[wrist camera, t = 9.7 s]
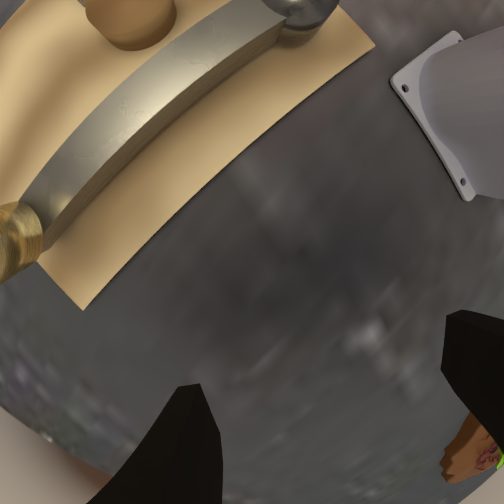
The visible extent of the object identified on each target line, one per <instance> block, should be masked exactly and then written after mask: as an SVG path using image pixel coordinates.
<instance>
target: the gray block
mask: <svg viewBox="0 0 504 504" xmlns="http://www.w3.org/2000/svg"><path fill="white" fill-rule="evenodd" d="M77 1H78V2H79V3H80V4H81V5H82V6H83V7H84V8H85V6H86V1H87V0H77Z"/></svg>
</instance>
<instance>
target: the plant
mask: <svg viewBox="0 0 504 504" xmlns="http://www.w3.org/2000/svg"><path fill="white" fill-rule="evenodd" d="M444 450H445V452H446V454H445V456H444V457H443V458H442V460H441V461H440V464H441V466H442V468H443V469H444V471H443V472H442V475H443V477H444V479H445V480H446V482H447V483H458V482H461V481H463V480H465V479H467V478H469V477H471V476H473V475H476V474H478V473H481V472H483V471H485V470H487V469H489V468H491V467H492V466H494V465H495V464H496V463H497V462H498V463H497V464H498V465H497V470H498V468H500V467H501V465H502V464H503V462H504V455H503V453H502V451H501V449H500V448H499V446H498V445H497V444H496V442H495V441H494V439H493V438H492V437H491V436H490V434H489V433H488V432H487V431H486V429H485V428H484V427H483V426H482V425H481V423H480V422H479V421H478V420H477V419H476V417H475V416H474V415H473V414H472V413H471V412H470V413H469V414H468V416H467V417H466V419H465V421H464V423H463V425H462V427H461V429H460V431H459V432H458V434H457V436H456V437H455V439H454V440H453V441H452V442H451V443H450V444H449V445H448V446H447V447H446V448H445V449H444Z"/></svg>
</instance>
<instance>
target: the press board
mask: <svg viewBox="0 0 504 504" xmlns="http://www.w3.org/2000/svg"><path fill="white" fill-rule="evenodd" d="M230 1H231V0H174V3H175V6H176V11H177V17H176V21H175V24H174V26H173V28H172V29H171V31H170V32H169V33H168V35H167V36H166V37H165V38H164V39H162V40H161V41H160V42H158V43H157V44H155V45H153V46H151V47H149V48H146V49H143V50H139V51H124V50H121V49H118V48H116V47H114V46H113V45H112V44H111V43H110V42H109V41H108V40H107V39H106V38H105V37H104V36H103V35H102V34H101V33H100V32H99V31H98V30H97V29H96V28H95V27H94V26H93V25H92V24H91V23H90V22H89V21H88V19H87V16H86V12H85V8H84V7H83V6H82V5H81V4H80V3H79V2H78V1H77V0H26V1H25V2H24V3H23V4H22V5H21V6H20V8H19V9H18V10H17V11H16V12H15V13H14V14H13V15H12V16H11V18H10V19H9V20H8V21H7V22H6V23H5V25H4V26H3V27H2V28H1V29H0V205H2V204H6V203H10V202H15V201H19V199H20V198H21V196H22V195H23V193H24V192H25V191H26V189H27V188H28V187H29V185H30V184H31V182H32V181H33V180H34V178H35V177H36V176H37V175H38V173H39V172H40V171H41V169H42V168H43V167H44V166H45V164H46V163H47V162H48V161H49V159H50V158H51V157H52V156H53V154H54V153H55V152H56V151H57V150H58V148H59V147H60V146H61V145H62V144H63V143H64V141H65V140H66V139H67V138H68V137H69V136H70V135H71V134H72V132H73V131H74V130H75V129H76V128H77V127H78V126H79V125H80V124H81V123H82V122H83V120H84V119H85V118H86V117H87V116H88V115H89V114H90V113H91V112H92V111H93V110H94V109H95V108H96V107H97V106H98V105H99V104H100V103H101V102H102V101H103V100H104V99H105V98H106V97H107V96H108V95H109V94H110V93H111V92H112V91H113V90H114V89H116V88H117V87H118V86H119V85H120V84H121V83H122V82H123V81H124V80H125V79H126V78H128V77H129V76H130V75H131V74H132V73H133V72H134V71H135V70H137V69H138V68H139V67H140V66H141V65H142V64H144V63H145V62H146V61H147V60H148V59H150V58H151V57H152V56H153V55H155V54H156V53H157V52H158V51H160V50H161V49H162V48H163V47H165V46H166V45H167V44H169V43H170V42H171V41H172V40H174V39H175V38H176V37H178V36H179V35H181V34H182V33H183V32H185V31H186V30H187V29H189V28H190V27H192V26H193V25H194V24H196V23H197V22H199V21H200V20H202V19H203V18H205V17H206V16H208V15H209V14H211V13H212V12H214V11H215V10H217V9H219V8H220V7H222V6H223V5H225V4H227V3H228V2H230ZM375 46H376V45H375V44H374V43H373V42H372V41H371V40H370V38H369V37H368V36H367V35H366V34H365V33H364V32H363V31H362V30H361V28H360V27H359V26H358V25H357V24H356V23H355V22H354V21H353V20H352V19H351V18H350V17H349V16H348V15H347V14H346V13H345V12H344V11H343V10H342V9H341V8H340V7H339V6H338V5H337V7H336V9H335V10H334V11H333V12H332V14H331V15H330V16H329V18H328V19H327V20H326V22H325V23H324V24H323V26H322V27H321V28H320V29H319V31H318V32H317V33H316V35H315V36H314V37H313V38H311V39H310V40H308V41H306V42H303V43H300V44H294V45H287V44H280V43H275V44H273V45H272V46H270V47H269V48H267V49H266V50H264V51H263V52H261V53H260V54H258V55H257V56H255V57H254V58H253V59H251V60H250V61H248V62H247V63H245V64H244V65H243V66H241V67H240V68H238V69H237V70H236V71H234V72H233V73H232V74H230V75H229V76H228V77H226V78H225V79H224V80H222V81H221V82H220V83H218V84H217V85H216V86H214V87H213V88H212V89H211V90H209V91H208V92H207V93H205V94H204V95H203V96H202V97H200V98H199V99H198V100H197V101H195V102H194V103H193V104H192V105H191V106H189V107H188V108H187V109H186V110H185V111H183V112H182V113H181V114H180V115H179V116H178V117H176V118H175V119H174V120H173V121H172V122H171V123H169V124H168V125H167V126H166V127H165V128H164V129H163V130H162V131H160V132H159V133H158V134H157V135H156V136H155V137H154V138H153V139H152V140H151V141H149V142H148V143H147V144H146V145H145V146H144V147H143V148H142V149H141V150H140V151H139V152H138V153H137V154H136V155H135V156H134V157H133V158H132V159H130V160H129V161H128V162H127V163H126V164H125V165H124V166H123V167H122V168H121V169H120V170H119V171H118V172H117V173H116V174H115V175H114V177H113V178H112V179H111V180H110V181H109V182H108V183H107V184H106V185H105V186H104V187H103V188H102V189H101V190H100V191H99V192H98V193H97V194H96V195H95V197H94V198H93V199H92V200H91V201H90V202H89V203H88V204H87V205H86V207H85V208H84V209H83V210H82V211H81V212H80V213H79V214H78V216H77V217H76V218H75V219H74V220H73V221H72V223H71V224H70V225H69V226H68V227H67V228H66V230H65V231H64V232H63V233H62V234H61V236H60V237H59V238H58V239H57V241H56V242H55V243H54V244H53V246H52V247H51V248H50V249H49V250H47V251H45V252H43V253H41V254H40V256H39V258H38V259H37V262H38V263H39V264H40V265H41V266H42V268H43V269H44V270H45V271H46V272H47V273H48V274H49V275H50V277H51V278H52V279H53V280H54V281H55V282H56V283H57V284H58V285H59V286H60V287H61V289H62V290H63V291H64V292H65V293H66V294H67V295H68V296H69V297H70V298H71V299H72V300H73V301H74V302H75V303H76V304H77V305H78V306H79V307H80V308H81V309H82V310H84V309H85V308H86V306H87V305H88V304H89V303H90V302H91V301H92V300H93V299H94V297H95V296H96V295H97V294H98V293H99V292H100V291H101V290H102V289H103V287H104V286H105V285H106V284H107V283H108V282H109V281H110V280H111V279H112V278H113V276H114V275H115V274H116V273H117V272H118V271H119V270H120V269H121V268H122V267H123V266H124V265H125V264H126V263H127V262H128V260H129V259H130V258H131V257H132V256H133V255H134V254H135V253H136V252H137V251H138V250H139V249H140V248H141V247H142V246H143V245H144V244H145V243H146V242H147V241H148V240H149V239H150V238H151V237H152V236H153V235H154V234H155V233H156V232H157V231H158V230H159V229H160V228H161V227H162V226H163V225H164V224H165V223H166V222H167V221H168V220H169V219H170V218H171V217H172V216H173V215H174V214H175V213H176V212H177V211H178V210H179V209H180V208H181V207H182V206H183V205H184V204H185V203H186V202H187V201H188V200H189V199H190V198H191V197H192V196H194V195H195V194H196V193H197V192H198V191H199V190H200V189H201V188H202V187H203V186H204V185H205V184H206V183H207V182H208V181H210V180H211V179H212V178H213V177H214V176H215V175H216V174H217V173H218V172H219V171H220V170H222V169H223V168H224V167H225V166H226V165H227V164H228V163H229V162H230V161H232V160H233V159H234V158H235V157H236V156H237V155H238V154H239V153H241V152H242V151H243V150H244V149H245V148H246V147H247V146H249V145H250V144H251V143H252V142H253V141H254V140H256V139H257V138H258V137H259V136H260V135H261V134H263V133H264V132H265V131H266V130H267V129H268V128H270V127H271V126H272V125H273V124H274V123H276V122H277V121H278V120H279V119H280V118H282V117H283V116H284V115H285V114H286V113H288V112H289V111H290V110H291V109H293V108H294V107H295V106H296V105H298V104H299V103H300V102H301V101H303V100H304V99H305V98H306V97H308V96H309V95H310V94H311V93H313V92H314V91H315V90H316V89H318V88H319V87H320V86H322V85H323V84H324V83H326V82H327V81H328V80H329V79H331V78H332V77H333V76H335V75H336V74H337V73H339V72H340V71H341V70H343V69H344V68H345V67H347V66H348V65H350V64H351V63H352V62H354V61H355V60H356V59H358V58H359V57H361V56H362V55H363V54H365V53H366V52H368V51H369V50H370V49H372V48H373V47H375Z"/></svg>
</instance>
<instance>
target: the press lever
mask: <svg viewBox="0 0 504 504" xmlns="http://www.w3.org/2000/svg"><path fill="white" fill-rule="evenodd" d="M338 3H339V0H231V1H230V2H228V3H227V4H225V5H223V6H222V7H220V8H219V9H217V10H215V11H214V12H212V13H211V14H209V15H208V16H206V17H205V18H203V19H202V20H200V21H199V22H197V23H196V24H194V25H193V26H192V27H190V28H189V29H187V30H186V31H185V32H183V33H182V34H181V35H179V36H178V37H176V38H175V39H174V40H172V41H171V42H170V43H169V44H167V45H166V46H165V47H163V48H162V49H161V50H160V51H158V52H157V53H156V54H155V55H153V56H152V57H151V58H150V59H148V60H147V61H146V62H145V63H144V64H142V65H141V66H140V67H139V68H138V69H137V70H135V71H134V72H133V73H132V74H131V75H130V76H129V77H128V78H126V79H125V80H124V81H123V82H122V83H121V84H120V85H119V86H118V87H117V88H116V89H114V90H113V91H112V92H111V93H110V94H109V95H108V96H107V97H106V98H105V99H104V100H103V101H102V102H101V103H100V104H99V105H98V106H97V107H96V108H95V109H94V110H93V111H92V112H91V113H90V114H89V115H88V116H87V117H86V118H85V119H84V120H83V122H82V123H81V124H80V125H79V126H78V127H77V128H76V129H75V130H74V131H73V132H72V134H71V135H70V136H69V137H68V138H67V139H66V140H65V141H64V143H63V144H62V145H61V146H60V147H59V148H58V150H57V151H56V152H55V153H54V154H53V156H52V157H51V158H50V159H49V161H48V162H47V163H46V164H45V166H44V167H43V168H42V169H41V171H40V172H39V173H38V175H37V176H36V177H35V178H34V180H33V181H32V182H31V184H30V185H29V187H28V188H27V189H26V191H25V192H24V193H23V195H22V196H21V198H20V199H19V201H15V202H10V203H6V204H2V205H0V284H2V283H3V282H5V281H7V280H8V279H10V278H11V277H13V276H14V275H16V274H18V273H19V272H21V271H22V270H24V269H26V268H27V267H29V266H31V265H32V264H34V263H35V262H36V261H37V259H38V258H39V256H40V254H41V253H43V252H45V251H47V250H49V249H50V248H51V247H52V246H53V244H54V243H55V242H56V241H57V239H58V238H59V237H60V236H61V234H62V233H63V232H64V231H65V230H66V228H67V227H68V226H69V225H70V224H71V223H72V221H73V220H74V219H75V218H76V217H77V216H78V214H79V213H80V212H81V211H82V210H83V209H84V208H85V207H86V205H87V204H88V203H89V202H90V201H91V200H92V199H93V198H94V197H95V195H96V194H97V193H98V192H99V191H100V190H101V189H102V188H103V187H104V186H105V185H106V184H107V183H108V182H109V181H110V180H111V179H112V178H113V177H114V175H115V174H116V173H117V172H118V171H119V170H120V169H121V168H122V167H123V166H124V165H125V164H126V163H127V162H128V161H129V160H130V159H132V158H133V157H134V156H135V155H136V154H137V153H138V152H139V151H140V150H141V149H142V148H143V147H144V146H145V145H146V144H147V143H148V142H149V141H151V140H152V139H153V138H154V137H155V136H156V135H157V134H158V133H159V132H160V131H162V130H163V129H164V128H165V127H166V126H167V125H168V124H169V123H171V122H172V121H173V120H174V119H175V118H176V117H178V116H179V115H180V114H181V113H182V112H183V111H185V110H186V109H187V108H188V107H189V106H191V105H192V104H193V103H194V102H195V101H197V100H198V99H199V98H200V97H202V96H203V95H204V94H205V93H207V92H208V91H209V90H211V89H212V88H213V87H214V86H216V85H217V84H218V83H220V82H221V81H222V80H224V79H225V78H226V77H228V76H229V75H230V74H232V73H233V72H234V71H236V70H237V69H238V68H240V67H241V66H243V65H244V64H245V63H247V62H248V61H250V60H251V59H253V58H254V57H255V56H257V55H258V54H260V53H261V52H263V51H264V50H266V49H267V48H269V47H270V46H272V45H273V44H275V43H280V44H287V45H294V44H300V43H303V42H306V41H308V40H310V39H311V38H313V37H314V36H315V35H316V33H317V32H318V31H319V29H320V28H321V27H322V26H323V24H324V23H325V22H326V20H327V19H328V18H329V16H330V15H331V14H332V12H333V11H334V10H335V9H336V7H337V5H338Z"/></svg>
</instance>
